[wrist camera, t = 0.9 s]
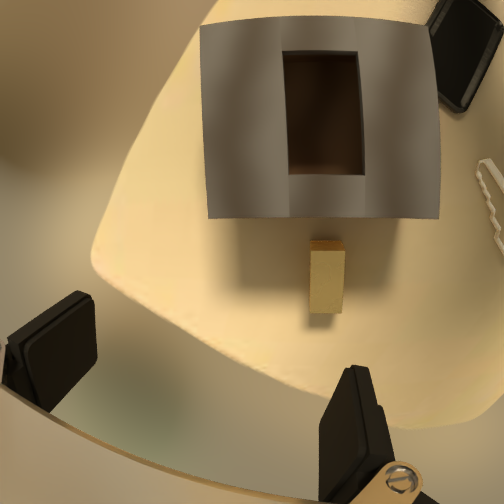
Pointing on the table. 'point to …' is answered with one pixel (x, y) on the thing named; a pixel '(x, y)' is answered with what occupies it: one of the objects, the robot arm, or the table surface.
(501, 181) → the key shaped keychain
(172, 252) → the table surface
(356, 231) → the table surface
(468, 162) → the table surface
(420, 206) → the box
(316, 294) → the wooden block
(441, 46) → the phone
